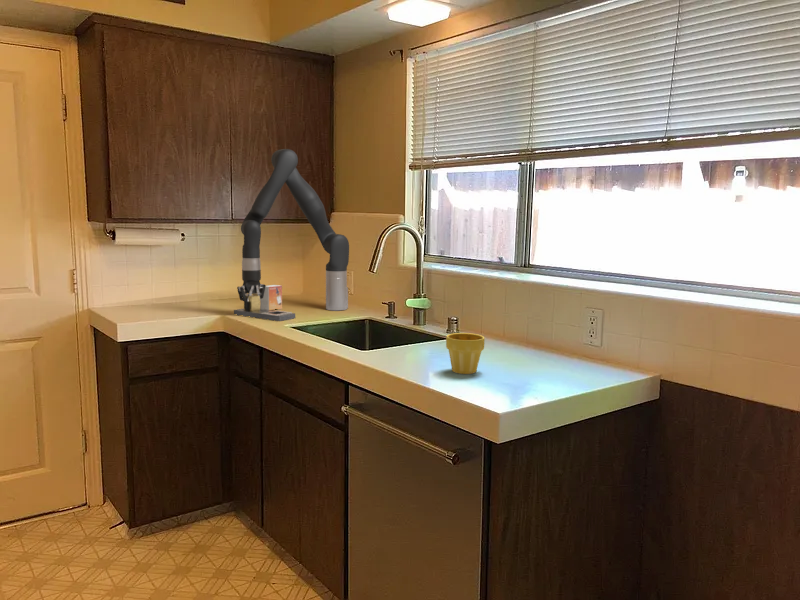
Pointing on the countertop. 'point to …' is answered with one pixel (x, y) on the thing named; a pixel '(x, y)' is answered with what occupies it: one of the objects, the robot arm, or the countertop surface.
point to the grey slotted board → (267, 314)
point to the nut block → (254, 303)
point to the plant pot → (464, 351)
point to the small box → (272, 298)
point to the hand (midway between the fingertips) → (252, 309)
